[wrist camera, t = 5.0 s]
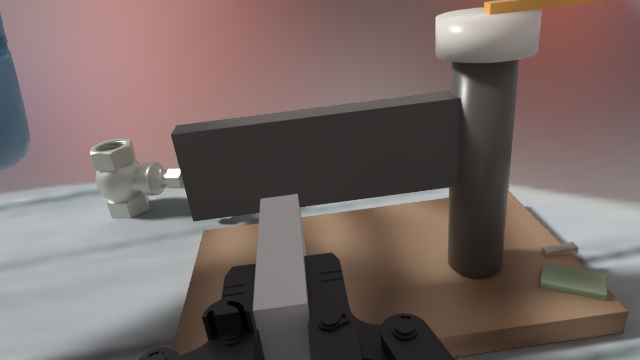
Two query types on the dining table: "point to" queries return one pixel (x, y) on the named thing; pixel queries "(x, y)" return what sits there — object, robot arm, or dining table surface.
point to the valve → (129, 178)
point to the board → (430, 278)
